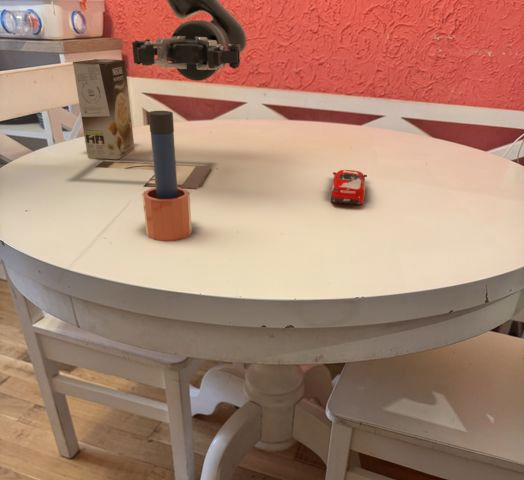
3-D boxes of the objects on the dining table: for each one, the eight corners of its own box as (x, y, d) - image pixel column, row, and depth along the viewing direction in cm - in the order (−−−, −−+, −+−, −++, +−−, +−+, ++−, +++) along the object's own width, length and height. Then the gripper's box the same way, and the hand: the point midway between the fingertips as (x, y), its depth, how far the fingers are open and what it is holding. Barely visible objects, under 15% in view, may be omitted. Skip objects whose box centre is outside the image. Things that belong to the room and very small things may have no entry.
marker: (157, 234, 63) (145, 114, 55) (162, 227, 65) (151, 110, 57) (178, 236, 63) (169, 115, 55) (182, 228, 65) (174, 111, 57)
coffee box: (119, 160, 95) (106, 63, 86) (86, 158, 96) (71, 61, 86) (135, 149, 102) (125, 59, 93) (105, 147, 103) (93, 57, 94)
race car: (333, 183, 86) (335, 159, 84) (364, 186, 85) (368, 161, 83) (326, 207, 75) (329, 180, 73) (362, 210, 75) (366, 183, 72)
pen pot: (142, 243, 62) (137, 199, 59) (153, 227, 67) (149, 185, 64) (186, 245, 62) (183, 201, 59) (195, 229, 66) (193, 187, 63)
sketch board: (74, 185, 81) (73, 180, 80) (103, 164, 92) (102, 159, 92) (196, 192, 80) (196, 187, 79) (210, 169, 91) (210, 164, 91)
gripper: (151, 18, 74) (117, 19, 61) (247, 22, 73) (233, 23, 60) (156, 75, 78) (125, 88, 65) (246, 79, 78) (233, 93, 64)
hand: (177, 57), depth 62 cm, fingers open, 8 cm apart
